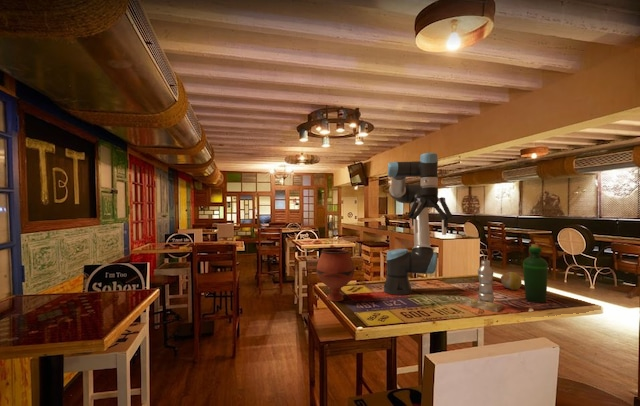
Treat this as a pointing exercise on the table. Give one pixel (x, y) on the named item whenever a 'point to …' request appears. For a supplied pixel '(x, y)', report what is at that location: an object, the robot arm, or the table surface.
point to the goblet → (335, 271)
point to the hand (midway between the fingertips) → (429, 233)
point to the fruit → (511, 280)
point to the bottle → (535, 275)
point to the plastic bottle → (485, 282)
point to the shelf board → (481, 304)
